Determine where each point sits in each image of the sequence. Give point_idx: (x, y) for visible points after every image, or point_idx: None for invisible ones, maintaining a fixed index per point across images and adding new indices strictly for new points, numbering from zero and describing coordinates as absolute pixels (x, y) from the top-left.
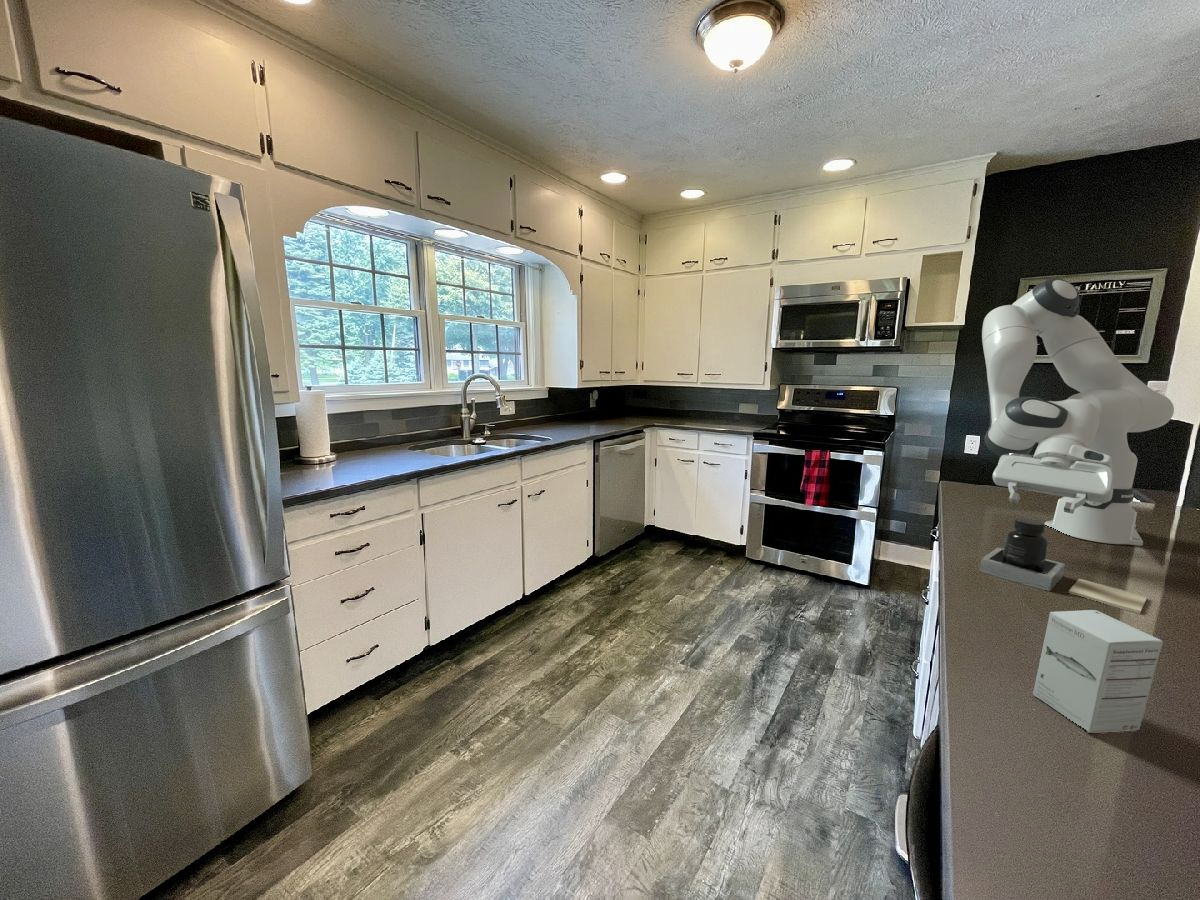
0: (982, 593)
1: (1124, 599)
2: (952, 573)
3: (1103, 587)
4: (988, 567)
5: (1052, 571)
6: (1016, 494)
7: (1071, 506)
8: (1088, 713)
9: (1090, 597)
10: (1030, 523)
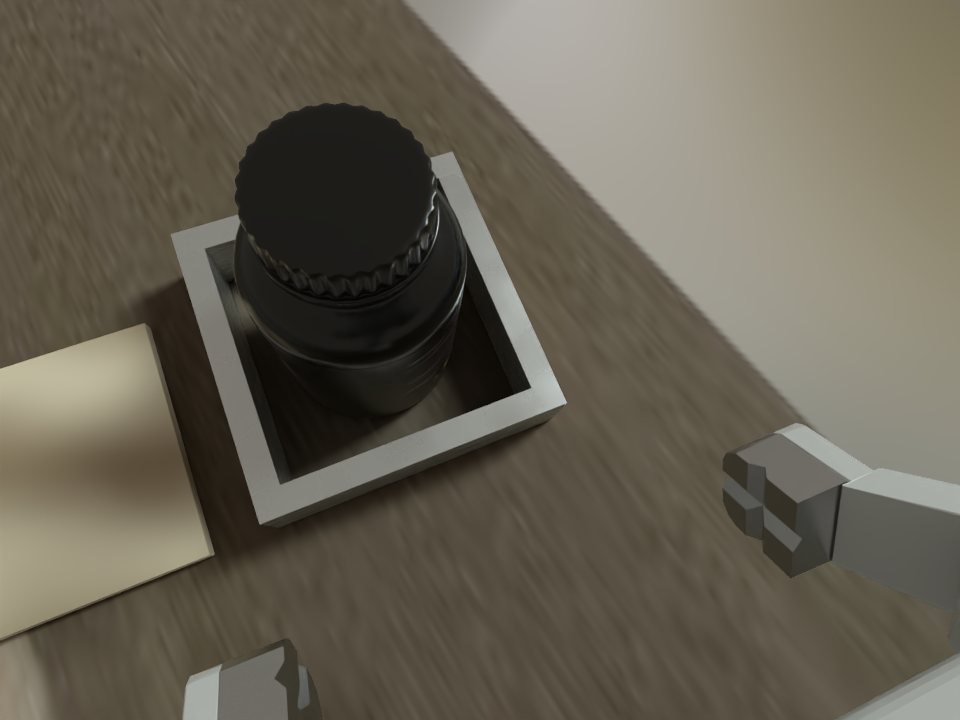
0: (288, 14)
1: None
2: (462, 74)
3: (90, 555)
4: None
5: (218, 323)
6: (801, 482)
7: (211, 704)
8: None
9: (65, 351)
10: (299, 134)
